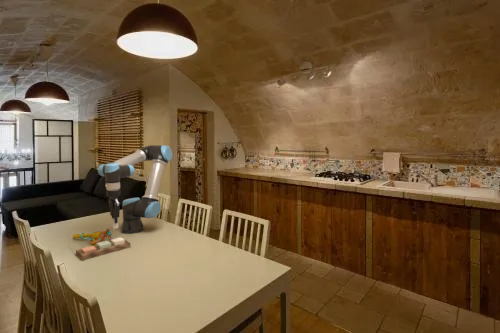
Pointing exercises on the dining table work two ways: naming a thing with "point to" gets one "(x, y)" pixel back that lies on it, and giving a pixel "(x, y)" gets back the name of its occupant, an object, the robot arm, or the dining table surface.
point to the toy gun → (95, 236)
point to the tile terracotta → (88, 249)
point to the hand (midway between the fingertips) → (115, 228)
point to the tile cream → (117, 241)
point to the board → (102, 251)
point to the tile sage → (103, 244)
